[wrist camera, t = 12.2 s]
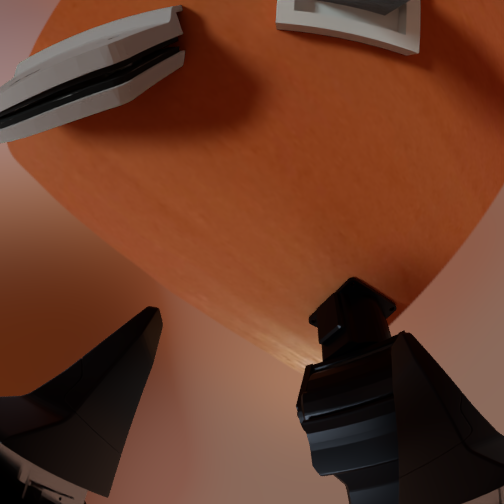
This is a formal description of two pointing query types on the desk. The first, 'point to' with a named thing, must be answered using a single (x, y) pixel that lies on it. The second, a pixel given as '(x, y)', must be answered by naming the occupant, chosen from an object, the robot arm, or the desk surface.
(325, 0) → the tan and grey block
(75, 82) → the white electronic device
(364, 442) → the robot arm
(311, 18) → the white square tray
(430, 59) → the desk surface
